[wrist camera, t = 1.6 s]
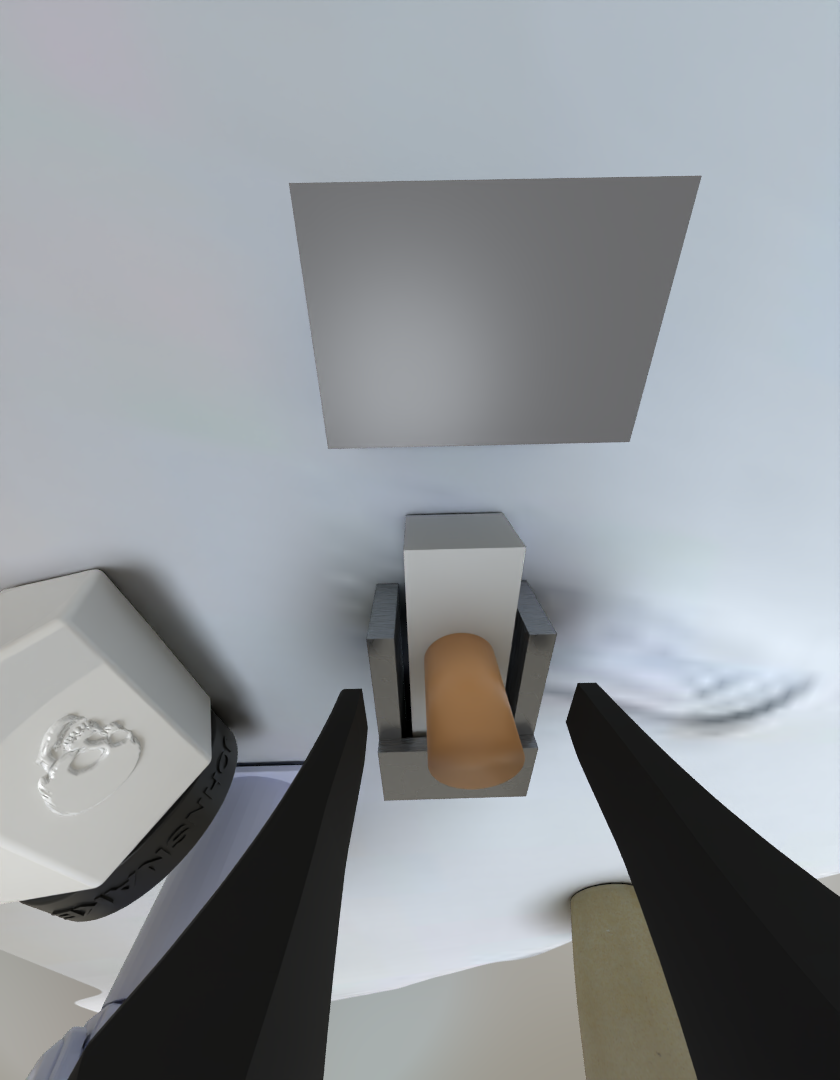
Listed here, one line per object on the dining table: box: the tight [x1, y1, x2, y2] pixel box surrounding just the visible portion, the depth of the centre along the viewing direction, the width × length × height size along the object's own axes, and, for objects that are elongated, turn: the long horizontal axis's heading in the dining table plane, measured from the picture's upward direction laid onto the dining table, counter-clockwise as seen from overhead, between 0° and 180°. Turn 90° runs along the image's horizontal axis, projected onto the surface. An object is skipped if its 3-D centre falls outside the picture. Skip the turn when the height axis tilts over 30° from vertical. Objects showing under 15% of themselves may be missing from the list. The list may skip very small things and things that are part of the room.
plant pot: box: [571, 884, 697, 1080], centre depth 26 cm, size 15×15×16 cm
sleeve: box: [367, 580, 557, 801], centre depth 15 cm, size 11×7×4 cm, turn 1°
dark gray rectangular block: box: [289, 176, 701, 449], centre depth 8 cm, size 4×7×4 cm, turn 91°
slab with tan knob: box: [404, 513, 526, 789], centre depth 13 cm, size 13×4×7 cm, turn 1°
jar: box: [0, 569, 238, 922], centre depth 13 cm, size 9×8×12 cm
